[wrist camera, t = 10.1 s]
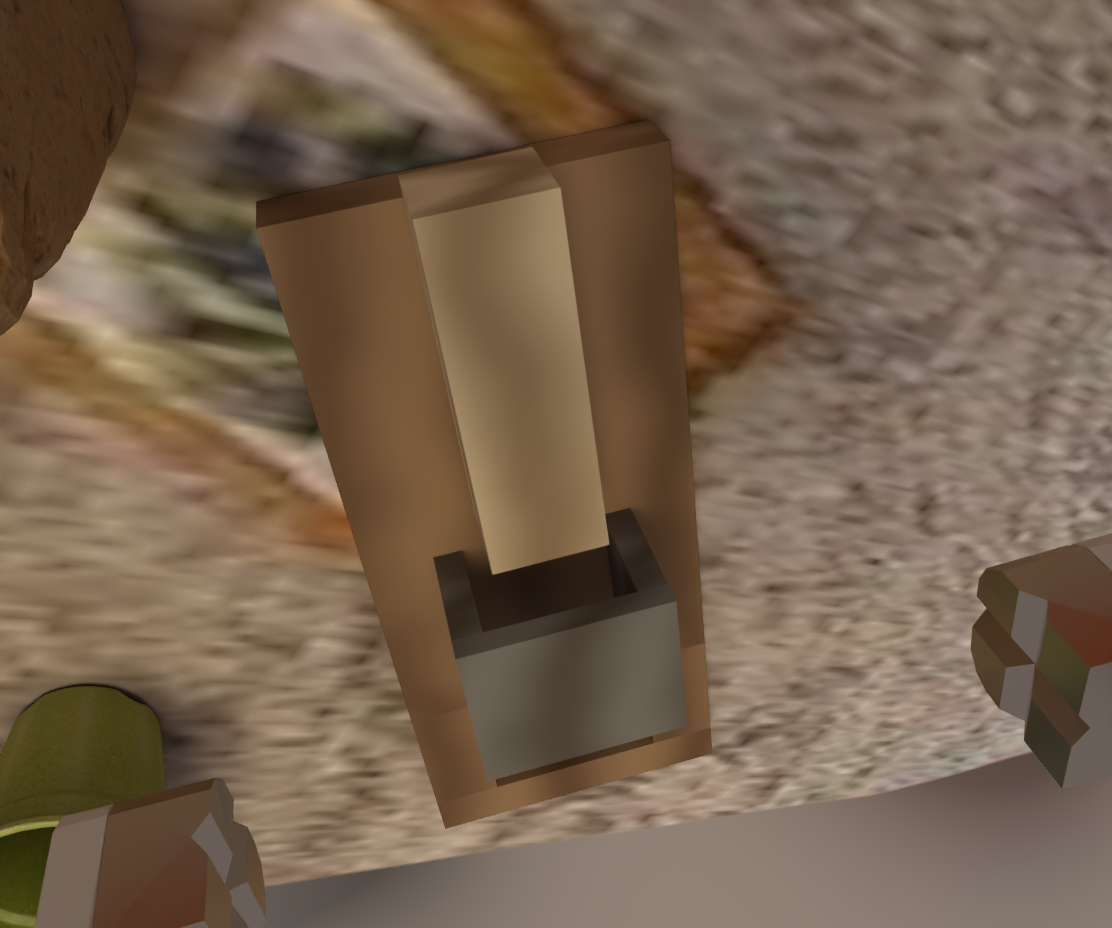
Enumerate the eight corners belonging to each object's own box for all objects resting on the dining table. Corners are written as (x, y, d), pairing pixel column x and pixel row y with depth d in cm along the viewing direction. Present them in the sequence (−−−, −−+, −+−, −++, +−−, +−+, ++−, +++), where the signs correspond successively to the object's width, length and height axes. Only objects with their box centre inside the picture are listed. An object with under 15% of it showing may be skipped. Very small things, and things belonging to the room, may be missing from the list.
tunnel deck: (648, 119, 38) (735, 201, 31) (695, 717, 56) (756, 851, 49) (256, 201, 36) (256, 307, 29) (438, 788, 55) (464, 937, 48)
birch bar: (532, 146, 35) (560, 187, 31) (582, 484, 43) (609, 544, 40) (397, 175, 34) (412, 219, 31) (474, 511, 42) (492, 574, 39)
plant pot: (211, 787, 51) (204, 952, 44) (-2, 817, 49) (-45, 996, 42) (185, 643, 46) (173, 803, 39) (-54, 669, 44) (-113, 844, 37)
